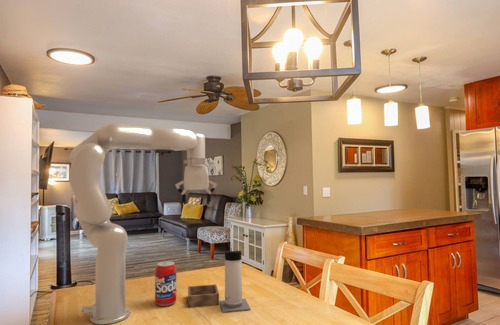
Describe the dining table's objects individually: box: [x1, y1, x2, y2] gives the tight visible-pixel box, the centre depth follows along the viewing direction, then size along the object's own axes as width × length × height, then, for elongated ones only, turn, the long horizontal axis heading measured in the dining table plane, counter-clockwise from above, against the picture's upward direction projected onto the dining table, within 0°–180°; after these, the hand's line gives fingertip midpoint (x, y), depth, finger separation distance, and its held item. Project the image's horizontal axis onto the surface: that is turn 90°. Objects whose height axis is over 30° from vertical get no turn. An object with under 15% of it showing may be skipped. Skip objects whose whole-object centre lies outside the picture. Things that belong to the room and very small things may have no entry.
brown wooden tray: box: [187, 283, 220, 308], centre depth 126 cm, size 11×11×4 cm
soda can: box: [154, 260, 177, 307], centre depth 124 cm, size 8×8×15 cm
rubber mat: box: [219, 298, 251, 314], centre depth 121 cm, size 10×10×1 cm
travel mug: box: [224, 250, 243, 308], centre depth 121 cm, size 6×7×20 cm
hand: (196, 203), depth 138 cm, fingers open, 9 cm apart
